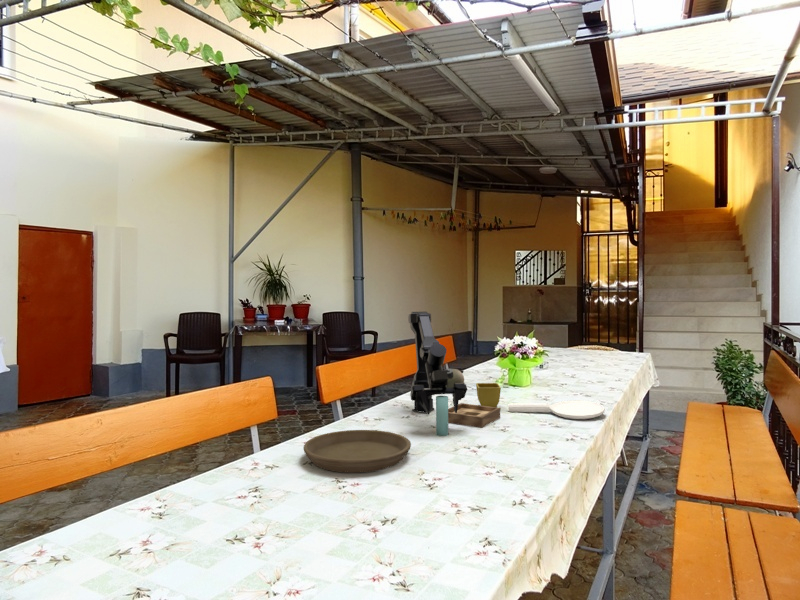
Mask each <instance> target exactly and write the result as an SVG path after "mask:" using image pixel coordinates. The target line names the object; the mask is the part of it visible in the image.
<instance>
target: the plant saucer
mask: <svg viewBox="0 0 800 600" xmlns="http://www.w3.org/2000/svg"><path fill="white" fill-rule="evenodd" d="M411 447H412V443H411V441H410V439H408V437H406V436H404V435H401V434H399V433H395V432H391V431H385V430H376V429H353V430H352V429H351V430H350V429H348V430H342V431H341V430H339V431H333V432H327V433H324V434H319V435H317V436H314V437H312V438H310V439H309V440H307V441H306V442H305V443H304V445H303V452H304V453H305V456H306V457H307V458H308V459H310V460H311V463H313V465H315V466H317V467H318V468H320V469H323V470H327V471H330V472H338V473H347V474H348V473H349V474H350V473H354V474H355V473H357V474H358V473H359V474H360V473H361V474H362V473H369V472H371V473H372V472H375V471H378V472H379V471H381V470H386V469H389V468H391V467H394V466H396V465H398V464H400V462H401V461H402V460H403V458H404V457H406V455H407V454H408V453H409V451H410V449H411Z"/></svg>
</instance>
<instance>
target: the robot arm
mask: <svg viewBox="0 0 800 600" xmlns="http://www.w3.org/2000/svg"><path fill="white" fill-rule="evenodd" d="M407 316H408V317H407V318H408V324H409V327H410V330H411V331H412V332H413V333H414V341H415V354H416V356H415V358H416V372H415V374H414V375H413V380H412V383H411V387H410V388H411V389H410V400H411V401H412V402H413V401H414V403H413V404H414V405H413V406H414V408H413V409H412V410H411V411H413V412H419V413H426V414H427V415H430V413H431V411H433V410H435V408H434V399H433V396H435V395H452V397H453V398H452V404H453V406H454V411H455V413H457V409H458V404H459V401H461V400H462V399H464V398H465V397H466V394H467V390H468V386H467V384H466V383H465V382H464V383H454V386H453V388H446V385H448V382H447V380H449V379H452V378H453V370H452V369H453V368H446V369H443V364H444V363H445V362H444V361H445V358H446V354H447V348H446V347H445V346H444V345H443V344H441V343H440V341H439V340H437V339H436V338H435V336H434V332H433V328H432V313H430V312H428V311H425V310H423V311H411V313H409V314H408V315H407Z"/></svg>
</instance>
